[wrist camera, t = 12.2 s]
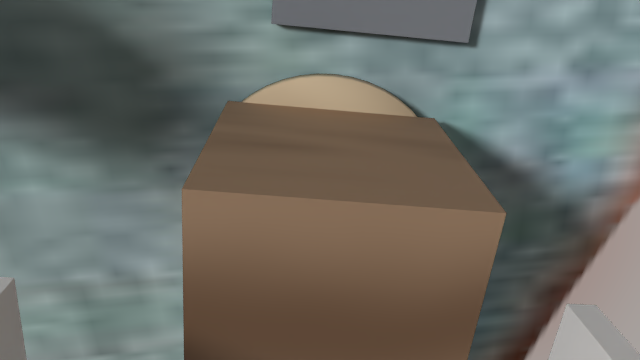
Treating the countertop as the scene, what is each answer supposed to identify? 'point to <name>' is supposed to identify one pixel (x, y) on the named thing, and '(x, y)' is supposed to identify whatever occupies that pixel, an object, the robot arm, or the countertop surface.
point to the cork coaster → (331, 95)
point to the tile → (382, 17)
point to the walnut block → (333, 238)
